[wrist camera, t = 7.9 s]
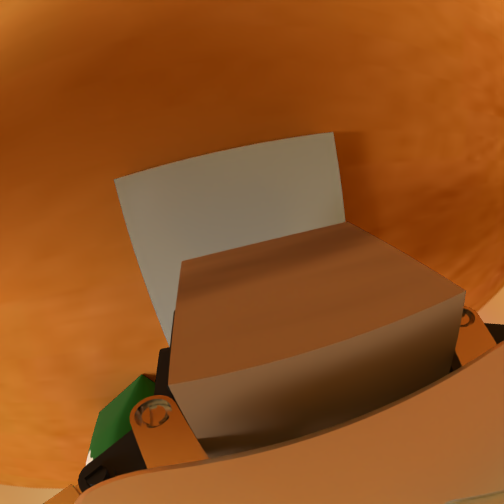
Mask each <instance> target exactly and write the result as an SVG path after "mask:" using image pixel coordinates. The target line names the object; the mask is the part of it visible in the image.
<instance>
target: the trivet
mask: <svg viewBox="0 0 504 504" xmlns="http://www.w3.org/2000/svg"><path fill="white" fill-rule="evenodd" d="M114 182H115V186H116V190H117V194H118V197H119V201H120V205H121V208H122V212H123V215H124V219H125V222H126V226H127V229H128V232H129V236H130V239H131V242H132V245H133V248H134V252H135V255H136V258H137V261H138V264H139V267H140V270H141V273H142V276H143V278H144V281H145V284H146V287H147V290H148V293H149V295H150V298H151V301H152V303H153V306H154V309H155V311H156V314H157V317H158V319H159V322H160V324H161V327H162V329H163V332H164V334H165V337H166V339H167V342H168V344H169V346H170V340H171V331H172V323H173V314H174V310H175V308H176V300H177V292H178V284H179V276H180V269H181V262H182V261H184V260H188V259H192V258H197V257H201V256H205V255H209V254H213V253H217V252H221V251H225V250H230V249H234V248H238V247H242V246H246V245H250V244H255V243H259V242H263V241H267V240H271V239H275V238H280V237H284V236H288V235H292V234H296V233H301V232H305V231H309V230H313V229H318V228H322V227H326V226H330V225H335V224H339V223H343V222H345V212H344V204H343V195H342V187H341V180H340V172H339V165H338V159H337V152H336V146H335V140H334V134H333V132H328V133H317V134H310V135H303V136H296V137H290V138H284V139H278V140H272V141H266V142H261V143H255V144H250V145H245V146H240V147H235V148H230V149H226V150H221V151H216V152H212V153H208V154H203V155H199V156H195V157H191V158H187V159H183V160H179V161H175V162H171V163H167V164H163V165H160V166H156V167H152V168H149V169H145V170H142V171H138V172H135V173H132V174H128V175H125V176H122V177H120V178H117V179H114Z"/></svg>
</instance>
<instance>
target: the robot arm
mask: <svg viewBox="0 0 504 504" xmlns="http://www.w3.org/2000/svg"><path fill="white" fill-rule="evenodd" d="M174 316H175V310H174V314H173V323H172V331H171V340H170V347H168V348H163V349H161V350H160V352H159V359H158V366H157V373H156V381H155V389H154V396H150V397H147V398H145V399H143V400H141V401H140V402H138V403H137V404H136V405H135V406H134V408H133V409H132V411H131V413H130V424H131V426H132V430H130V431H129V432H128V433H127V434H125V435H124V436H123V437H122V438H120V439H119V440H118V441H117V442H115V443H114V444H113V445H112V446H110V447H109V448H108V449H107V450H105V451H104V452H103V453H101V454H100V455H99V456H98V457H96V458H95V459H94V460H92V461H91V462H90V463H88V464H87V465H86V466H85V467H84V468H83V469H82V471H81V473H80V474H79V479H78V485H76V486H75V487H74V486H73V485H72V484H71V485H69V486H68V487H66V488H65V489H64V490H62V491H61V492H59V493H58V494H57V495H55V496H54V497H52V498H51V499H49V500H48V501H46V502H45V503H43V504H504V325H500V324H488V323H483V321H482V320H481V318H480V316H479V315H478V313H477V312H476V311H475V310H473V309H472V308H470V307H467V306H464V307H463V313H462V319H461V324H460V329H459V334H458V339H457V343H456V348H455V352H454V356H453V360H452V364H451V368H450V371H449V374H448V375H446V376H444V377H442V378H441V379H439V380H437V381H435V382H433V383H431V384H429V385H427V386H426V387H424V388H422V389H420V390H418V391H416V392H414V393H412V394H410V395H407V396H405V397H403V398H401V399H399V400H397V401H395V402H393V403H390V404H388V405H386V406H384V407H381V408H379V409H377V410H374V411H372V412H369V413H367V414H365V415H362V416H360V417H357V418H354V419H352V420H349V421H347V422H344V423H341V424H338V425H336V426H333V427H330V428H327V429H324V430H321V431H318V432H315V433H312V434H309V435H306V436H302V437H299V438H296V439H292V440H289V441H285V442H282V443H278V444H274V445H270V446H266V447H262V448H258V449H254V450H249V451H245V452H240V453H236V454H231V455H226V456H221V457H216V458H210V459H209V457H208V456H207V454H206V453H205V451H204V450H203V448H202V446H201V445H200V443H199V441H198V439H197V438H196V436H195V434H194V433H193V431H192V429H191V427H190V426H189V424H188V422H187V420H186V418H185V417H184V415H183V413H182V411H181V409H180V407H179V405H178V404H177V402H176V400H175V398H174V396H173V394H172V392H171V390H170V388H169V386H168V379H169V366H170V355H171V345H172V335H173V325H174Z"/></svg>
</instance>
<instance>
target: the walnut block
mask: <svg viewBox="0 0 504 504" xmlns="http://www.w3.org/2000/svg"><path fill="white" fill-rule="evenodd" d="M465 294H466V291H465V290H464V289H462V288H461V287H459V286H458V285H456V284H454V283H453V282H451V281H450V280H448V279H446V278H445V277H443V276H442V275H440V274H438V273H437V272H435V271H434V270H432V269H430V268H429V267H427V266H425V265H424V264H422V263H420V262H419V261H417V260H415V259H414V258H412V257H410V256H408V255H407V254H405V253H403V252H402V251H400V250H398V249H396V248H395V247H393V246H391V245H389V244H388V243H386V242H384V241H382V240H381V239H379V238H377V237H375V236H373V235H372V234H370V233H368V232H366V231H364V230H362V229H361V228H359V227H357V226H355V225H353V224H351V223H349V222H348V221H347V222H343V223H339V224H335V225H330V226H326V227H322V228H318V229H313V230H309V231H305V232H301V233H296V234H292V235H288V236H284V237H280V238H275V239H271V240H267V241H263V242H259V243H255V244H250V245H246V246H242V247H238V248H234V249H230V250H225V251H221V252H217V253H213V254H209V255H205V256H201V257H197V258H192V259H188V260H184V261H182V262H181V269H180V276H179V284H178V292H177V300H176V308H175V316H174V325H173V335H172V345H171V355H170V366H169V379H168V386H169V388H170V390H171V392H172V394H173V396H174V398H175V400H176V402H177V404H178V405H179V407H180V409H181V411H182V413H183V415H184V417H185V418H186V420H187V422H188V424H189V426H190V427H191V429H192V431H193V433H194V434H195V436H196V438H197V439H198V441H199V443H200V445H201V446H202V448H203V450H204V451H205V453H206V454H207V456H208V457H209V459H210V458H216V457H221V456H226V455H231V454H236V453H240V452H245V451H249V450H254V449H258V448H262V447H266V446H270V445H274V444H278V443H282V442H285V441H289V440H292V439H296V438H299V437H302V436H306V435H309V434H312V433H315V432H318V431H321V430H324V429H327V428H330V427H333V426H336V425H338V424H341V423H344V422H347V421H349V420H352V419H354V418H357V417H360V416H362V415H365V414H367V413H369V412H372V411H374V410H377V409H379V408H381V407H384V406H386V405H388V404H390V403H393V402H395V401H397V400H399V399H401V398H403V397H405V396H407V395H410V394H412V393H414V392H416V391H418V390H420V389H422V388H424V387H426V386H427V385H429V384H431V383H433V382H435V381H437V380H439V379H441V378H442V377H444V376H446V375H448V374H449V371H450V368H451V364H452V360H453V356H454V352H455V348H456V343H457V339H458V334H459V329H460V324H461V319H462V313H463V307H464V301H465Z"/></svg>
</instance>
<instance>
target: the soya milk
mask: <svg viewBox="0 0 504 504" xmlns="http://www.w3.org/2000/svg"><path fill="white" fill-rule="evenodd" d="M154 389H155V383H154V382H153V381H151V380H150V379H148V378H147V377H145V376H144V375H140V376H139V377H138V378H137V379H136V380H135V381H134V382H133V383H132V384H130V385H129V386H128V387H127V388H126V389H125V390H124V391H123V392H122V393H120V394H119V395H118V396H117V397H116V398H115V399H114V400H113V401H112V402H110V403H109V404H108V405H107V406H106V407H105V408H104V409H103V410H102V411H100V412H99V415H98V419H97V422H96V426H95V429H94V432H93V436H92V440H91V444H90V448H89V452H88V457H87V461H86V465H87V464H88V463H90V462H91V461H92V460H94V459H95V458H96V457H98V456H99V455H100V454H101V453H103V452H104V451H105V450H107V449H108V448H109V447H110V446H112V445H113V444H114V443H115V442H117V441H118V440H119V439H120V438H122V437H123V436H124V435H125V434H127V433H128V432H129V431H130V430H132V426H131V424H130V413H131V411H132V409H133V408H134V406H135V405H136V404H137V403H138V402H140V401H141V400H143V399H145V398H147V397H150V396H154Z"/></svg>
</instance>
